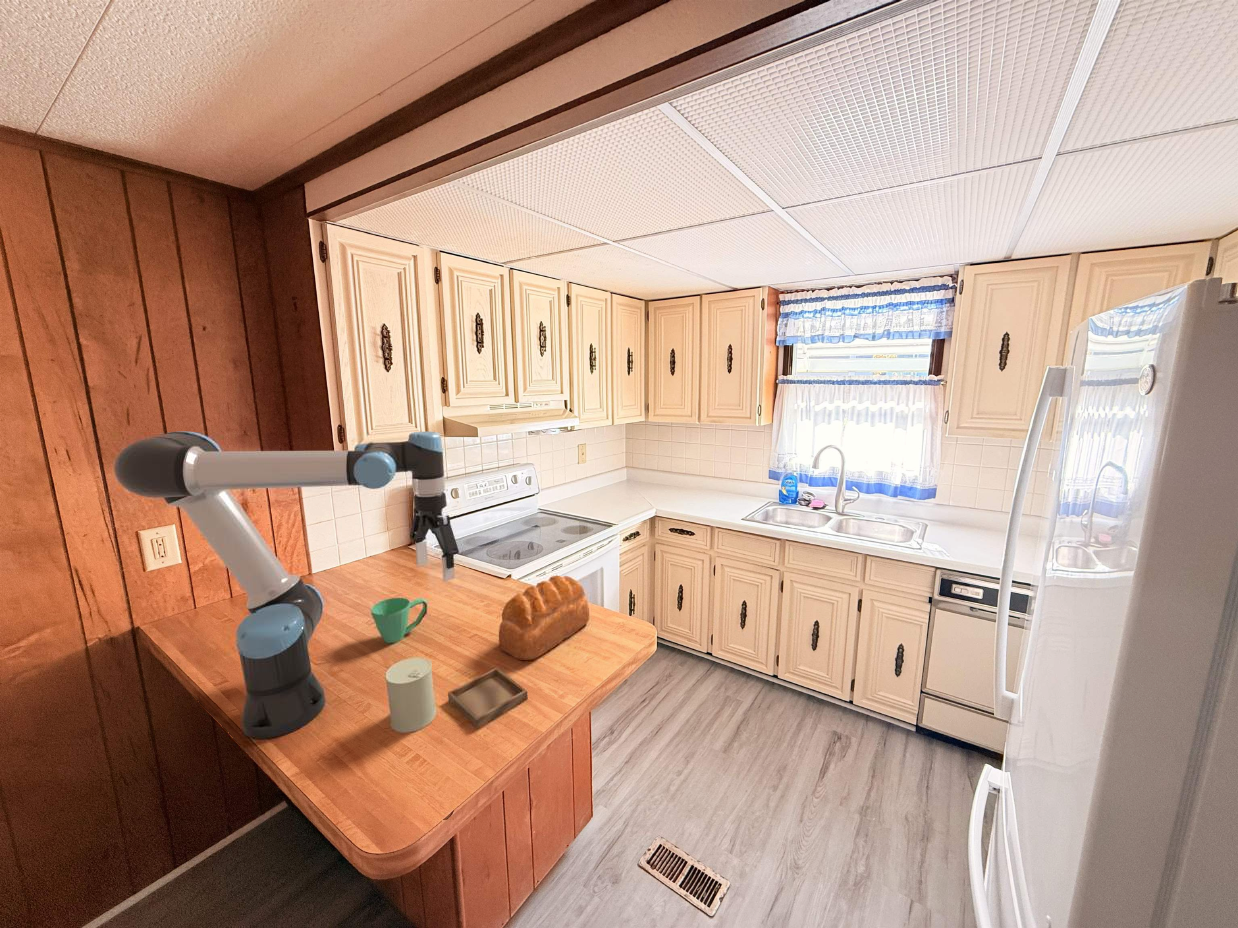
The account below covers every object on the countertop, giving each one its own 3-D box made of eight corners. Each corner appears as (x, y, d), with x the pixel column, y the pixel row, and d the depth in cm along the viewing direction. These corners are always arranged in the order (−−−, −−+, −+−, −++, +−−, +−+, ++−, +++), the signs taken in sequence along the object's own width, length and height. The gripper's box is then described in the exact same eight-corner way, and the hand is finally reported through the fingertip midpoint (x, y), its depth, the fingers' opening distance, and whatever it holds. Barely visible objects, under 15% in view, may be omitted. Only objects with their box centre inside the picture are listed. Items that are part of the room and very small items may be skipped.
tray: (477, 728, 101) (476, 720, 100) (448, 700, 109) (447, 692, 109) (527, 698, 109) (527, 690, 109) (497, 675, 118) (496, 667, 118)
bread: (493, 649, 130) (489, 596, 126) (560, 609, 150) (558, 562, 147) (529, 667, 121) (526, 610, 118) (595, 622, 142) (593, 573, 139)
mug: (380, 652, 128) (375, 618, 126) (371, 637, 136) (366, 604, 134) (435, 633, 137) (432, 601, 136) (424, 619, 145) (420, 589, 143)
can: (408, 739, 98) (402, 687, 96) (381, 722, 103) (375, 672, 101) (445, 712, 106) (440, 663, 103) (419, 697, 111) (414, 650, 108)
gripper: (470, 498, 116) (475, 580, 120) (419, 483, 132) (425, 555, 136) (441, 505, 110) (447, 590, 114) (392, 488, 126) (399, 563, 130)
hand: (435, 572), depth 125 cm, fingers open, 13 cm apart
